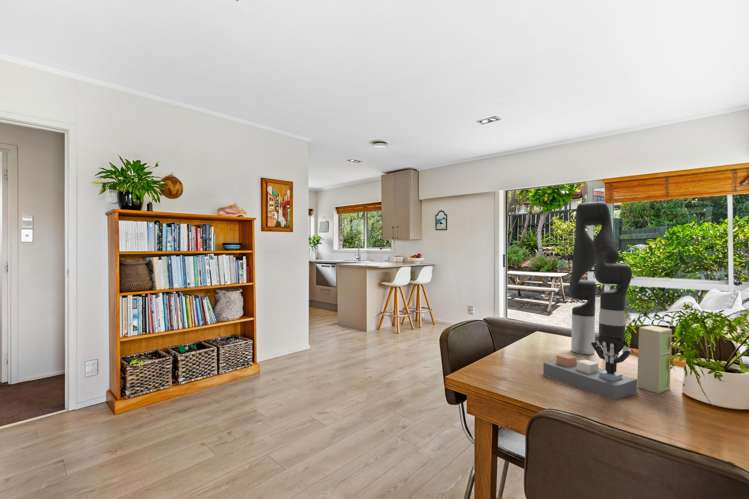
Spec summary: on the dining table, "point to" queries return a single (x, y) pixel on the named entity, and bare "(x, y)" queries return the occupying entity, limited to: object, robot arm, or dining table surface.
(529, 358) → the dining table surface
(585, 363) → the ivory key
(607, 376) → the blue key
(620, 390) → the console
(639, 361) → the toy refrigerator
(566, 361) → the terracotta key
